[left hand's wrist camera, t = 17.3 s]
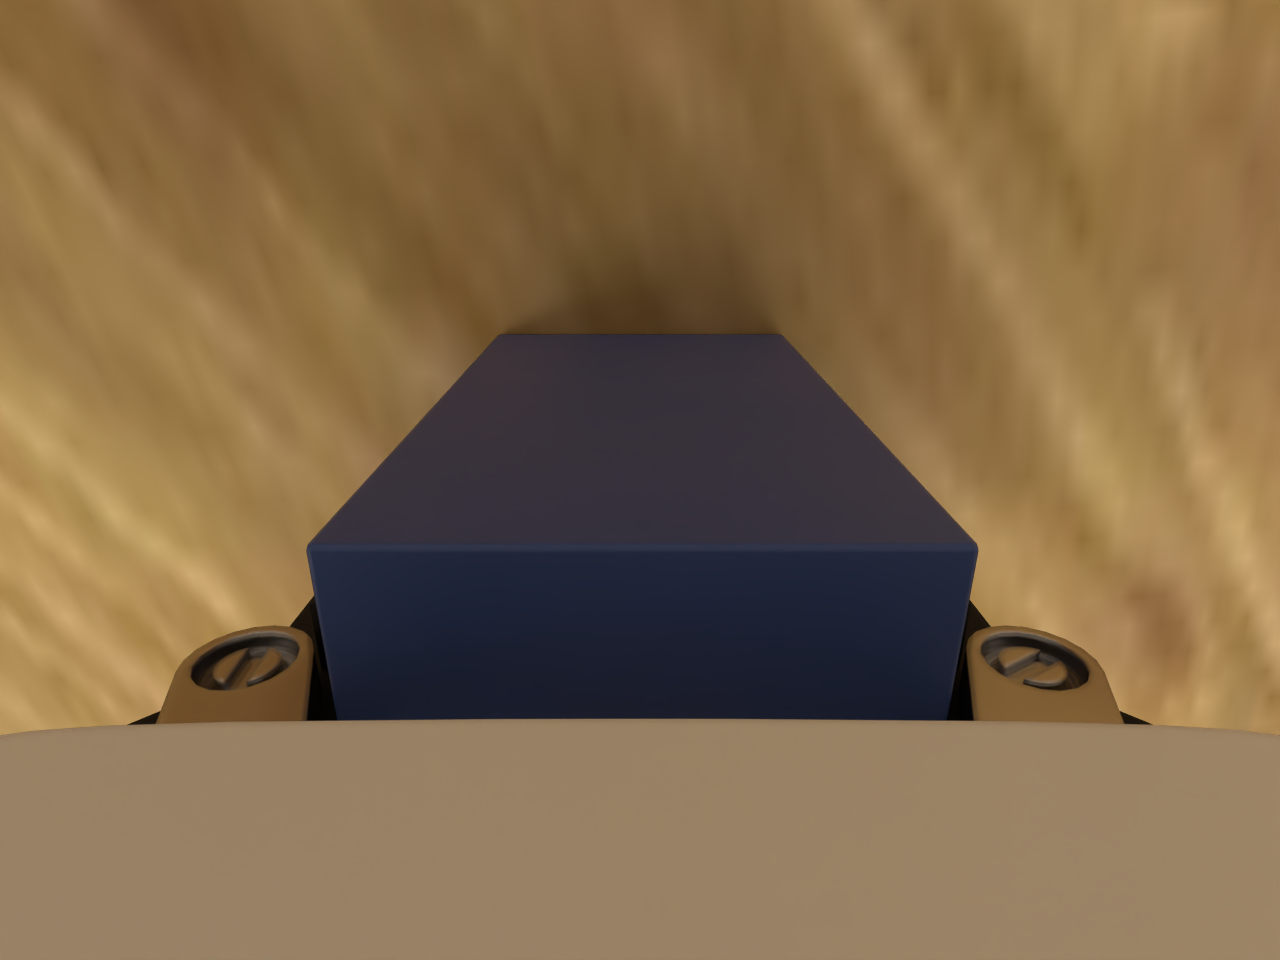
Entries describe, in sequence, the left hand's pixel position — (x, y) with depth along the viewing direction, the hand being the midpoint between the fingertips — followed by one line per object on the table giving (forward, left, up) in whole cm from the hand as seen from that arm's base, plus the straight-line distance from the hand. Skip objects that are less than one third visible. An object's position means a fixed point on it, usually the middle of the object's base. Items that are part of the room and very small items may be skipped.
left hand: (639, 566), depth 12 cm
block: (0, 0, -4) cm, 4 cm away
